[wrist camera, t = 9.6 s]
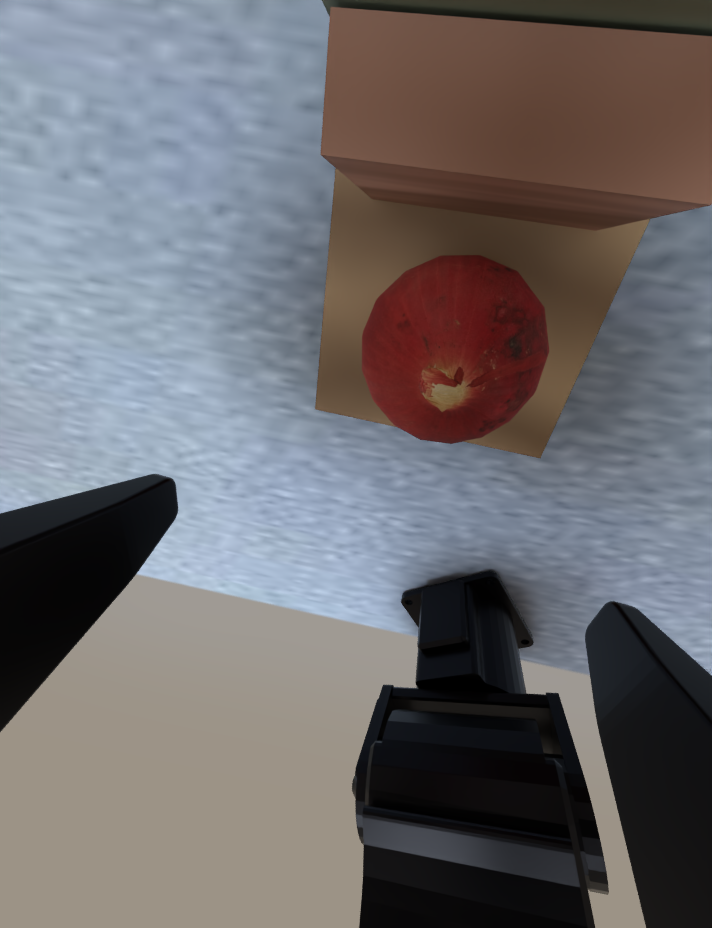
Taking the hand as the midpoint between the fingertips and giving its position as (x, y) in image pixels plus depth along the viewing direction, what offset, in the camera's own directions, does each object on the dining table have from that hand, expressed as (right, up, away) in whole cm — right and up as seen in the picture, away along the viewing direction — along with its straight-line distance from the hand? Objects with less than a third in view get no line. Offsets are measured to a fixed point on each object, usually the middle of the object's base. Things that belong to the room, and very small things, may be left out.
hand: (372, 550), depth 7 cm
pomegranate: (+4, +7, +8) cm, 11 cm away
